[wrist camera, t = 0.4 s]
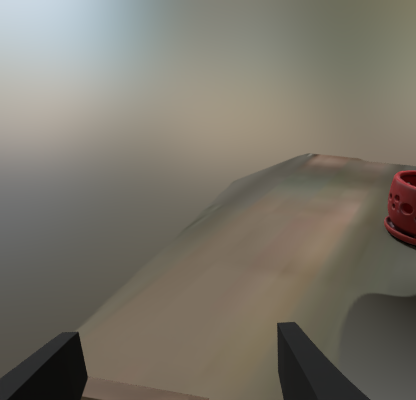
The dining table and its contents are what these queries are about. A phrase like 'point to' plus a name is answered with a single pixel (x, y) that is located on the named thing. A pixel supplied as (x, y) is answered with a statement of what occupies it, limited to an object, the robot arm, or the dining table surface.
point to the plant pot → (402, 207)
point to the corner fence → (128, 392)
